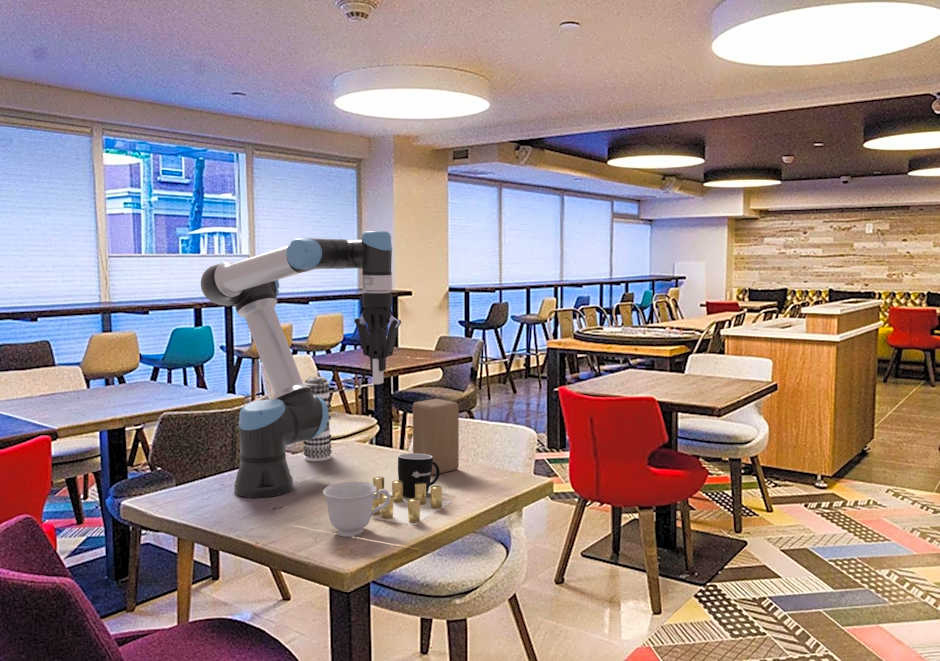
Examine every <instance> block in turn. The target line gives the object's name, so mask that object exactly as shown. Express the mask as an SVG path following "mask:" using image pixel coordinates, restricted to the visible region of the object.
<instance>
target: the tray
mask: <svg viewBox="0 0 940 661" xmlns="http://www.w3.org/2000/svg"><path fill="white" fill-rule="evenodd" d="M388 492H389V494H390V495H392V491H388ZM384 495H385V494H384ZM408 499H411V498H410V497H405V496H404V501H403V502H400V503H395V502H393V518H391V519H383V518H381V514H380V515H372V517H371V519H376V520H380V521H385V522H386V521H387V522H393V523H398V524H404V525H410V526H416V525H418V524H420V523H421V522H422V521H424V520H426V519H427V518H429V517H430V516H431V515H433V514H435V513H437V512H438V511H440V510H441V509H442V508H444V507H446V506H447V505H449V504H450V503H452V502H453V501H452V500H451V501H450V500H445V499H442V508H440V509H433V508H431V497H426V504H424V505H420V522H417V523H410V522H408Z"/></svg>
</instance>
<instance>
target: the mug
mask: <svg viewBox="0 0 940 661" xmlns="http://www.w3.org/2000/svg"><path fill="white" fill-rule="evenodd" d="M397 456H398V457H397V474H398V477H397V478H398V479H397V480H402V481H403V496H405V497H410V498H415V483H417V482H425V483H426V496H427V494H428V492H429V490H430V487H431V486H434V484H436V483H437V481H438V479H439V478H440V475H441V473H440V471H439V467H438V465H437V464H436V463H435V462H433V457H432V456H431V455H427V454H417V453H413V452H411V453H410V452H409V453H401V454H399V455H397ZM432 464H433V465H434V466H435V468H436V475H434V476H435V477H434V478H433V479H432V474H431V473H432ZM431 480H432V481H431Z"/></svg>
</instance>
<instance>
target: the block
mask: <svg viewBox="0 0 940 661" xmlns="http://www.w3.org/2000/svg"><path fill="white" fill-rule="evenodd" d="M459 409H460V408H459V404H458V402H455V401H450V400H445V399H441V398H432V399H426V400H425V399H424V400H421V401H420V400H419V401H415V402H413V404H412V453H417V454H427V455H431V456H432V457H433V462H435V463H436V464H437V465H438V467H439V471H440V474H444V473H448V472H451V471H456V470H458V469H459V460H460V459H459V457H460V456H459V452H460V451H459V449H460V448H459V441H460V439H459V435H460V434H459V430H460V428H459V416H460V415H459V413H460V412H459ZM431 476H436V468H435V466H434V465H433V464H432V473H431Z"/></svg>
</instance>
